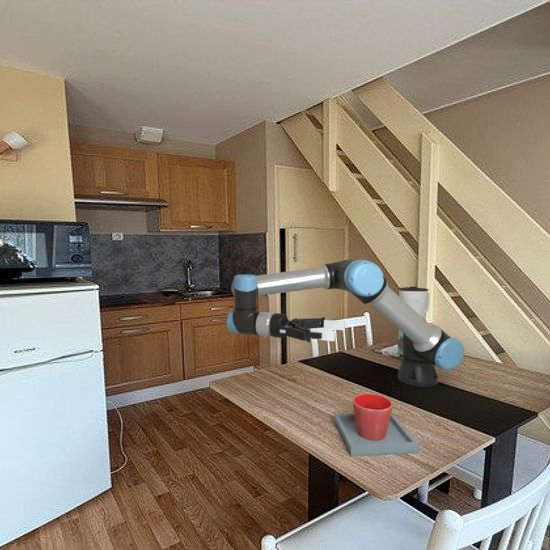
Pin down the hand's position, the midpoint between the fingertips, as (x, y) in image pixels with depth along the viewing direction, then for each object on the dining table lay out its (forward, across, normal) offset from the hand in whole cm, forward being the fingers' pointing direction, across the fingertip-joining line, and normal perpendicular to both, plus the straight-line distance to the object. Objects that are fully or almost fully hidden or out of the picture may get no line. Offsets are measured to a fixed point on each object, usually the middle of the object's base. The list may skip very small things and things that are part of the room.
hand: (340, 330), depth 102 cm
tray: (+10, 0, -30) cm, 32 cm away
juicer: (+18, -82, -30) cm, 89 cm away
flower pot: (+10, 0, -29) cm, 31 cm away
